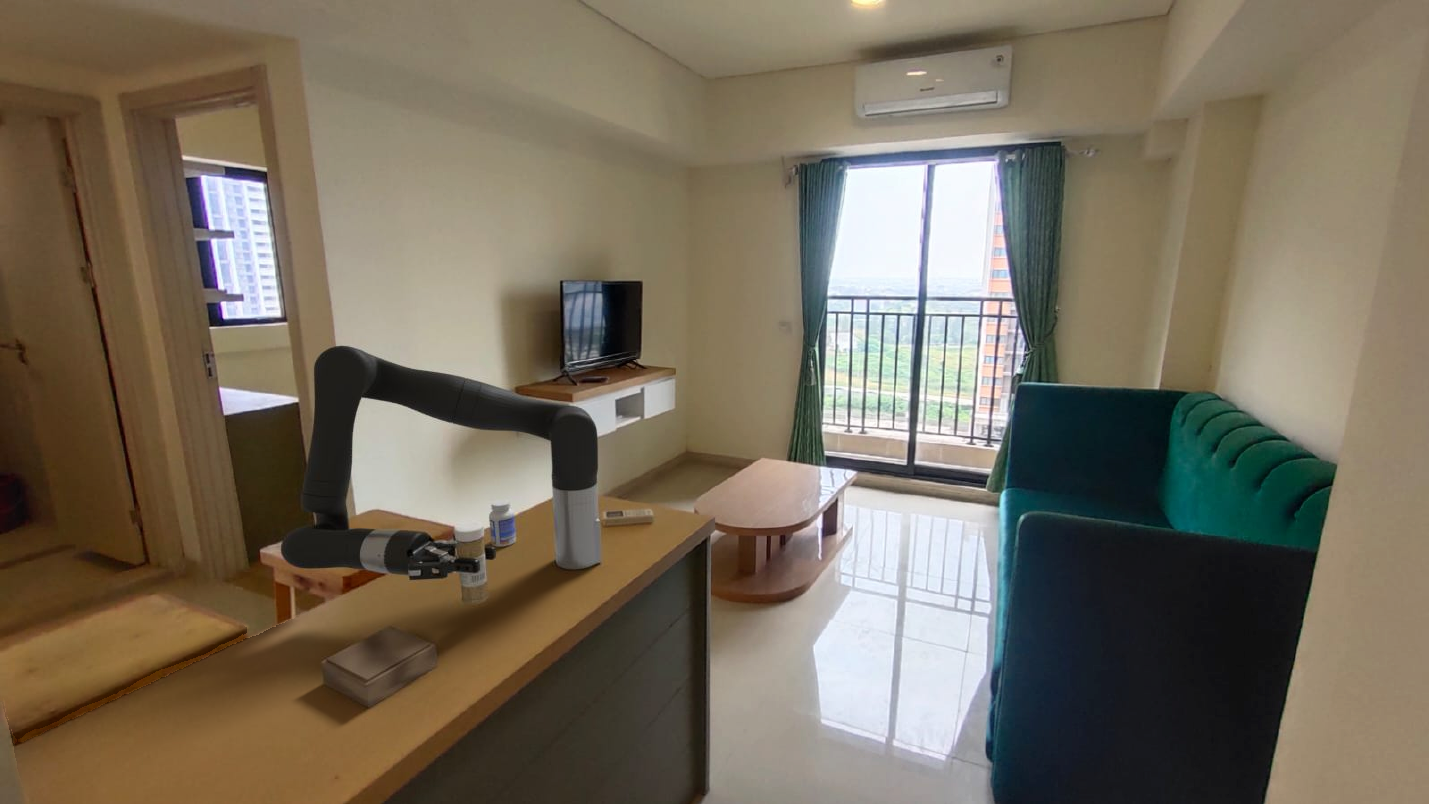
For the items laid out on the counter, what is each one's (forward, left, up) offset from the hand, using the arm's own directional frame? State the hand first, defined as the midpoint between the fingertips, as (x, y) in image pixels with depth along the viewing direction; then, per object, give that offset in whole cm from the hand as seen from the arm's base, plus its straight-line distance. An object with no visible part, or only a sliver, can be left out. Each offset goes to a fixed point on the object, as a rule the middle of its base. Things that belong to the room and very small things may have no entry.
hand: (486, 559), depth 104 cm
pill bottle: (-2, -36, -13) cm, 39 cm away
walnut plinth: (+16, +9, -13) cm, 22 cm away
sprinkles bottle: (+2, -1, -8) cm, 8 cm away
